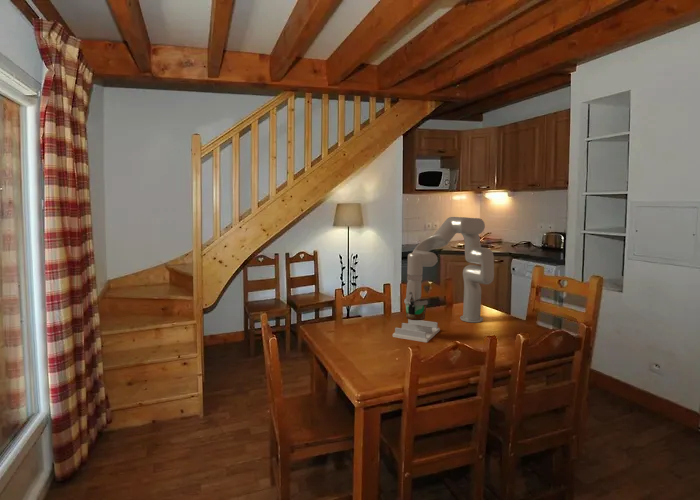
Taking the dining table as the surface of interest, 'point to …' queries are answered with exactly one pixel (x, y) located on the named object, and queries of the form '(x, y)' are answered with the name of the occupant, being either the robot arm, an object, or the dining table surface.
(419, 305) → the food container
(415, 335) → the rack
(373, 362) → the dining table surface
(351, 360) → the dining table surface
